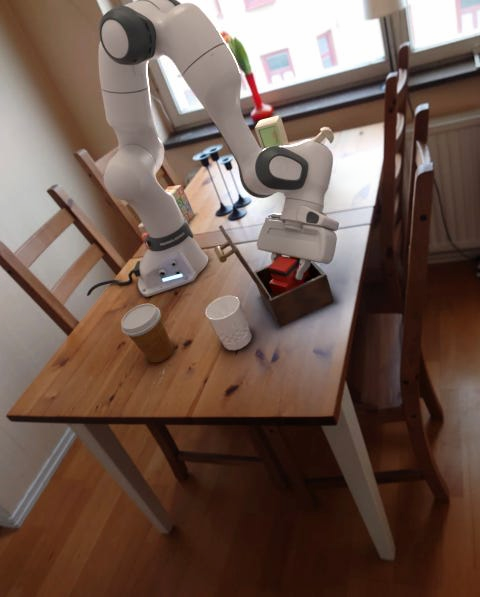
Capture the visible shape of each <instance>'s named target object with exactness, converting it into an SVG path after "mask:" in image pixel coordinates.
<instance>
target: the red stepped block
mask: <svg viewBox="0 0 480 597" xmlns="http://www.w3.org/2000/svg"><path fill="white" fill-rule="evenodd" d="M270 264H271V265H270ZM270 264H269V265H270V266H269V267H268V269H269V272H270V274H271V277H272V280H271V281H270V282H269V284H270V287H271V289H272V292H273V294H274V295H276V296H277V295H280V294H282V293H284V292H286V291H288V290H290V289H293V288H295V287H297V286H299V285H301V284H303V283H305V282H308V281H310V275H309V272H308V269H307V270H306V271H305V272H304V274H303V278H302V280H298V279H294V278H293V273H294V271H297V270H298V268H299V267H300V266H301V265H300V264H299V263H298V260H297V259H294V258H289V257H287V256H285V255H282V256H280V257H279V258H277V259H276V260H275V261H274V262H273V263H272V262H271V263H270Z"/></svg>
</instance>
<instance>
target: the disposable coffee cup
mask: <svg viewBox="0 0 480 597" xmlns="http://www.w3.org/2000/svg"><path fill="white" fill-rule="evenodd" d="M161 314H162V313H161V310H160V308H159V307H157V306H156V305H154V304H153V303H147V302H146V303H142V304H138V305H136V306H134V307H133V308H130V310H128V311H127V312H126V313H125V314H124V316H123V317H122V319H121V321H120V325H121V332H122V333H123V334H125V335H126V336H128V337H129V338H130V340H131V341H132V342H133V343H134V345H136V346H137V348H139V350H140V351H141V352H142V353H143V354H144V355H145V357H146V358H147V359H148V360H149V361H150V362H152V363H159V362H162V361H165V360H167V359H168V358H169V356H171V355H172V353H173V350H174V347H173V344H172V342H171V338H170V336H169V334H168V332H167V329H166V326H165V323H164V321H163V319H162V315H161Z"/></svg>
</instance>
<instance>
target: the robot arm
mask: <svg viewBox="0 0 480 597" xmlns="http://www.w3.org/2000/svg"><path fill="white" fill-rule="evenodd" d="M98 34H99V40H100V41H99V43H98V57H97V58H98V76H99V84H100V88H101V95H102V101H103V107H104V112H105V113H104V114H105V119H106V122H107V124H108V125H109V126H110V127H111V128H112V129H113V131H114V133H115V135H116V136H115V137H116V138H117V141H118V148H117V151H116V153H115V154H114V155H113V156H112V157H111V158H110V159H109V161H108V162H107V165H106V167H105V171H104V173H103V183H104V187H105V188H106V190H107V192H108V193H110V195H111V196H113V197H114V198H115V199H118V200H121V201H125V202H126V203H127V204H128V205H129V206H130V208H132V209H133V210H134V212H135V213H136V216H138V218H139V220H140V222H141V223H143V225H144V227H145V229H146V231H147V233H148V234H146V233H143V234H141V239H142V241H143V243H144V245H145V247H146V248H147V249H146V251H145V253H144V254H143V256H142V257H141V259H140V260H138V261H137V262H136V263H135V265H134V267H133V269H131V270H130V271H129V273H128V274H127V275H128V280H126V281H119V280H118V279H110V280H104V281H101V282H98V283H96V284H94V285H92V286H91V287H90V289H89V290H88V291H87V293H86V297H89V296H90V295H91V294H92V292H93V291H94V290H96V289H98V288H99V287H102V286H106V285H110V284H116V285H118V286H128V285H130V284H131V283H133V274H134V277H135V278H138V280H137V287H138V290H139V293H140V294H141V295H142V296H143V297H146V298H149V297H151V296H154V295H158V294H160V293H164V292H166V291H170V290H172V289H175V288H178V287H181V286H184V285H186V284H189V283H192V282H194V281H195V280H196V278H197V277H198V275H200V273H201V272H202V271H203V270H204V269H205V268H206V267H207V265H208V263H209V257H208V255H207V254H206V253H205V252H204V251H203V249H202V248H201V246H200V245H199V244H198V242H197V241H196V238H195V237H194V233H193V230H192V227H191V226H190V224H189V222H187V220H186V219H185V218H184V217H183V215H182V213H181V211H180V209H179V207H178V204H177V202H176V200H175V198H174V196H173V195H172V194H171V193H168V192H166V191H165V189H164V188H163V187H162V186H161V184H160V183H159V181H158V179H157V174H158V172H159V170H160V169H161V167H162V165H163V163H164V158H165V146H164V143H163V141H162V140H161V139H160V138H159V135H158V132H157V129H156V125H155V121H154V117H153V109H152V100H151V92H150V82H149V75H148V64H149V62H151V61H155V60H157V59H160V58H161V57H163V56H166V57H167V58H169V59H170V60H171V61H172V63H173V64H174V65H175V67H176V69H177V71H178V72H179V73H180V75H181V76H182V79H183V80H184V81H185V84H186V85H187V87H189V89H190V90H191V92H192V93H193V95H194V97H196V99H197V100H198V102H199V103H200V104H201V105H202V107H203V109H204V110H205V111H206V114H208V116H209V117H210V119H211V120H212V122H213V123H214V125H215V127H216V128H217V130H218V132H219V134H220V135H221V138H222V139H223V141H224V143H225V144H226V147H227V148H228V150H229V151H230V153H231V155H232V157H233V158H234V161H235V163H236V165H237V169H238V173H239V174H238V175H239V179H240V183H241V185H242V187H243V189H244V190H245V191H246V193H247V194H249V195H250V196H252V197H254V198H257V199H266V198H269V197H272V196H273V195H275V194H277V193H282V194H284V201H283V205H282V209H281V213H275V212H272V213H270V214H269V215H267V216H266V217H265V219H264V223H263V224H262V226H261V229H260V232H259V234H258V238H257V241H256V248H257V250H260V251H262V252H265V253H271V255H270V261H271V264H272V263H273V262H274V261H275V260H276V259H277V258H279V257H280V256H285V257H287V256H290V257H295V258H299V259H300V264H301V266H300V267H299V268H298V270H297V271H294V273H293V278H294V279H298V280H302V278H303V274H304V272H305V271H306V270H307V269H308V268H309V267H310V264H311V261H314V262H315V263H318V264H319V263H320V264H323V265H329V264H330V263H332V261H333V260H334V257H335V253H336V248H337V242H338V236H337V233H336V232H337V231H338V230H339V228H340V222H339V221H337V220H336V219H334V218H332V217H330V216H328V214H326V213H324V207H325V196H326V194H327V191H328V190H329V188H330V182H331V178H332V173H333V165H334V155H333V152H332V151H331V149H330V148H329V147H328V146H327V145H325V144H323V142H321V143H319V142H317V141H312V140H313V139H305V140H303V141H301V142H299V143H294V144H289V146H271V147H268V148H265V149H264V150H262V149H261V146H260V144H259V143H258V142H257V140H256V137H255V136H254V135H253V132H252V130H251V129H250V127H249V125H248V123H247V121H246V120H245V118H244V115H243V112H242V107H241V92H242V81H243V80H242V73H241V70H240V67H239V65H238V62H237V60H236V57H235V56H234V54H233V52H232V50H231V49H230V47H229V45H228V44H227V42H226V40H225V39H224V37H223V36H222V35H221V33H220V31H219V30H218V29H217V27H216V26H215V25H214V23H213V22H212V21H211V20H210V18H209V17H208V15H206V13H204V11H203V10H202V9H201V8H200V7H199V6H198V5H196V4H194V3H191V2H183V3H181V2H180V1H178V0H135V1H132V2H129V3H127V4H123V5H117V6H115V7H112V8H111V9H108V11H107V12H106V13H105V14H103V16H102V17H101V19H100V22H99V25H98Z"/></svg>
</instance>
